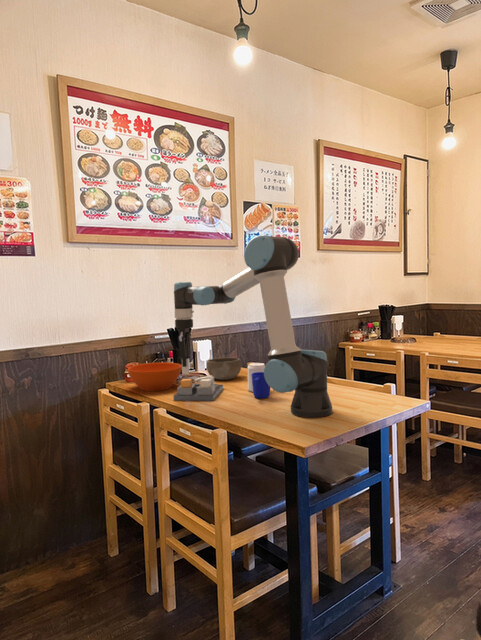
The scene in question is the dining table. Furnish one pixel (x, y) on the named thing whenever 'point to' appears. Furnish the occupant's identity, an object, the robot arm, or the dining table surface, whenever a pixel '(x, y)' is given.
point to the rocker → (201, 378)
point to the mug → (260, 386)
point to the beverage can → (253, 369)
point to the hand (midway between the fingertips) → (185, 373)
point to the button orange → (186, 383)
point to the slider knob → (211, 380)
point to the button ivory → (205, 383)
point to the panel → (198, 393)
